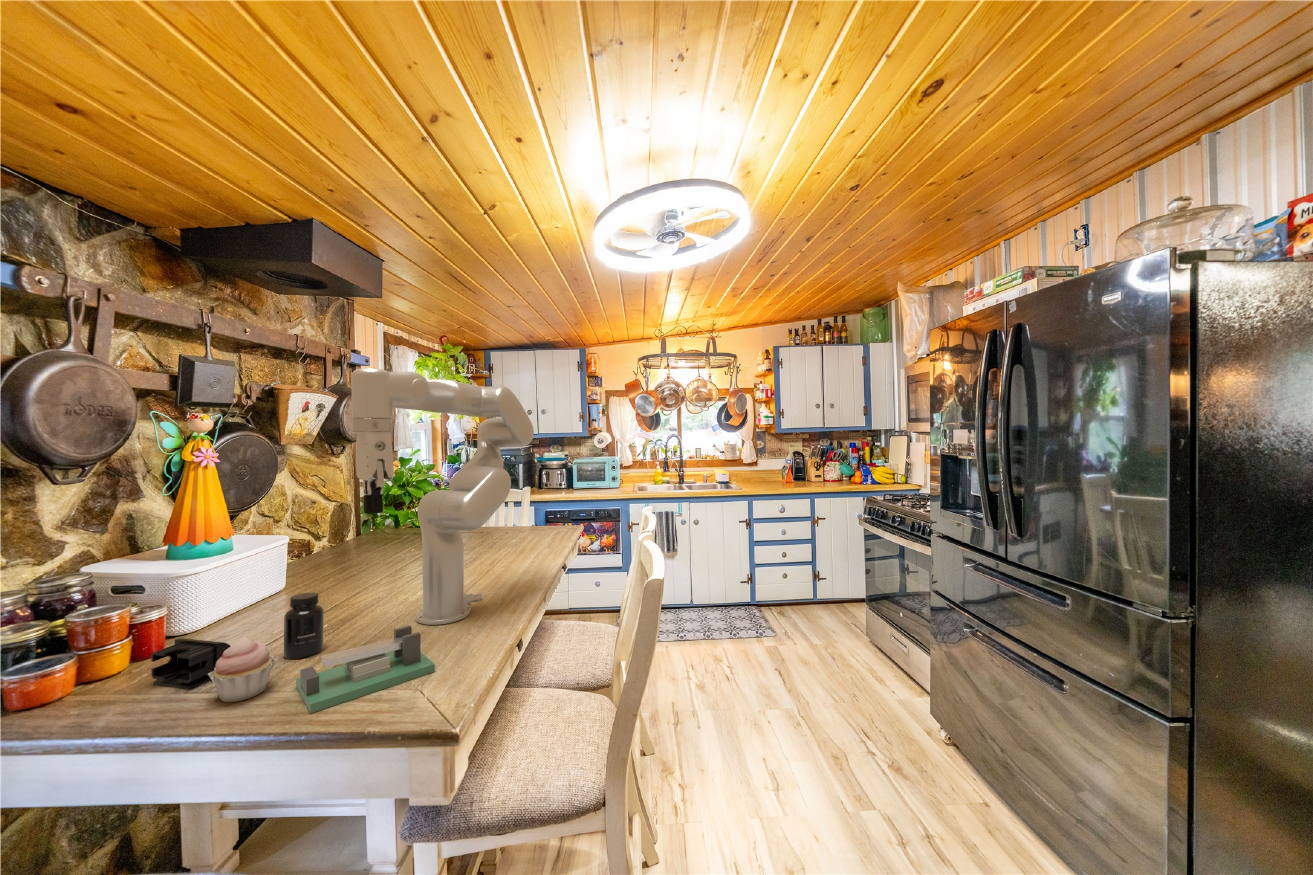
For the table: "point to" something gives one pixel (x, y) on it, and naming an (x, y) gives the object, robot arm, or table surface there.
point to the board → (365, 674)
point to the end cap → (187, 663)
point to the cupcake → (242, 671)
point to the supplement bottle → (303, 626)
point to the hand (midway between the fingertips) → (373, 512)
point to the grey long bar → (361, 652)
